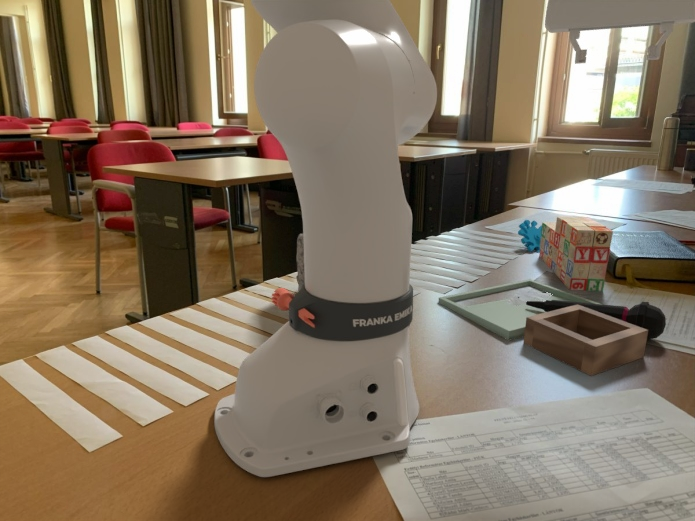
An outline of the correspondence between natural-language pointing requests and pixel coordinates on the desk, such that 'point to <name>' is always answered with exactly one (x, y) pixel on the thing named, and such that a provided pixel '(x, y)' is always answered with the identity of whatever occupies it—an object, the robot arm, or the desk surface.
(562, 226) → the stack of blocks
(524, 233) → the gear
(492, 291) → the tray
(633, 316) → the microphone
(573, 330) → the holder
